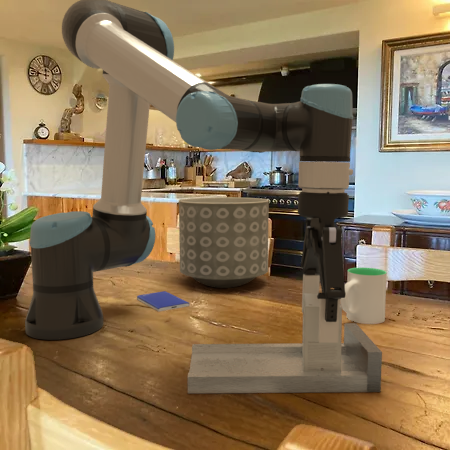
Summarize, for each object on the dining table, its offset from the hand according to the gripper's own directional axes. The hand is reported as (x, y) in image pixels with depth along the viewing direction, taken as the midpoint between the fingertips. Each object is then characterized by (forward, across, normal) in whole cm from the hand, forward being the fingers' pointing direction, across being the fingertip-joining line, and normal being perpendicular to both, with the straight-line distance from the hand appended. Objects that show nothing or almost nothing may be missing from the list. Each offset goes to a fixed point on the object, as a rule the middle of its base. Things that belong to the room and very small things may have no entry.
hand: (318, 325), depth 75 cm
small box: (+6, 0, 0) cm, 6 cm away
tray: (+8, 0, +6) cm, 10 cm away
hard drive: (+9, +41, +29) cm, 51 cm away
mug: (+8, +27, -15) cm, 32 cm away
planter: (+9, +61, +14) cm, 63 cm away
